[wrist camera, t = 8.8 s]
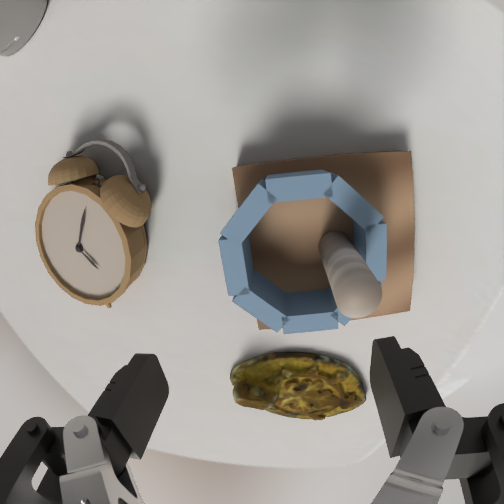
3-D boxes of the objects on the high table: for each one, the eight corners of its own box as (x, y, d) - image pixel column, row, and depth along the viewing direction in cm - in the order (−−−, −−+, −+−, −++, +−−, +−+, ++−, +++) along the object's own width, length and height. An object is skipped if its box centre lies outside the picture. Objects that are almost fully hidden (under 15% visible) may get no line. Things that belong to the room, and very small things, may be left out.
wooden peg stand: (236, 166, 22) (202, 178, 13) (400, 150, 20) (472, 156, 11) (260, 317, 26) (248, 399, 17) (402, 299, 24) (448, 370, 15)
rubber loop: (220, 181, 21) (209, 187, 17) (368, 166, 19) (384, 169, 16) (242, 312, 24) (236, 336, 21) (371, 299, 22) (383, 322, 19)
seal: (379, 355, 28) (238, 333, 28) (393, 381, 24) (232, 359, 24) (349, 417, 30) (224, 401, 31) (356, 445, 26) (218, 430, 26)
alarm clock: (33, 273, 24) (37, 129, 17) (61, 250, 29) (76, 120, 21) (119, 327, 25) (150, 177, 18) (141, 296, 29) (180, 161, 22)
